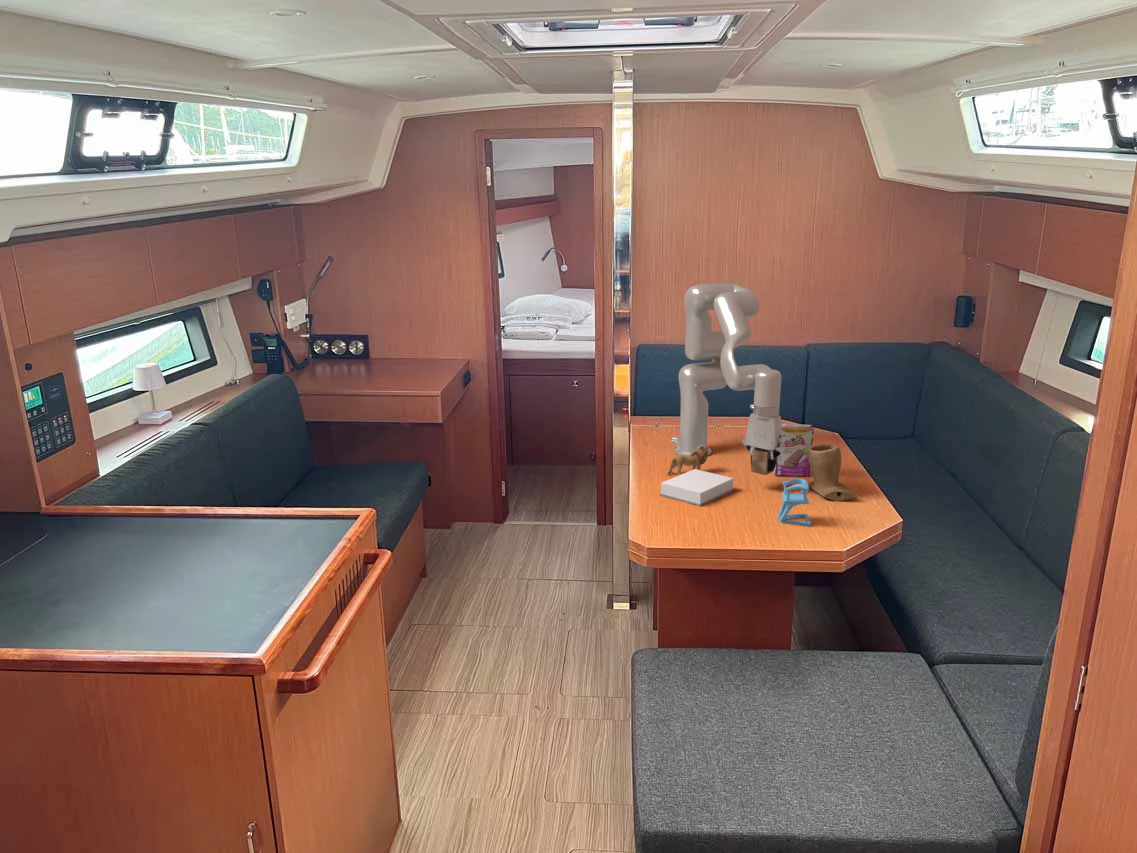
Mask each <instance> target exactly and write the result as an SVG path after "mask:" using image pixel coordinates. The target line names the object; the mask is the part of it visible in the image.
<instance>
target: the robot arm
mask: <svg viewBox="0 0 1137 853" xmlns="http://www.w3.org/2000/svg"><path fill="white" fill-rule="evenodd" d="M683 303H684V306H683V307H684V311H685V317H686V324H685V339H684V340H685V341H684V353H685V356H686V358H687V359H689V360H692V361H705V360H711V361H709V362H697V363H694V362H693V363H689V364H685V365H684V366H682V367H681V368H680V369H679V372H678V385H679V392H680V418H679V437H678V436H672V438H671V440H670V443H671V444H674V445H676V447H675V448H674V452H675V454H677V455H678V454H682V455H691V454H693V453H694V452H695V451H696V450H697V447H698V446H700V445H705V446H707V447H708V426H709V424H708V423H709V402H708V399H707V398H706V396H705V395H704V393H703V392H704V391H705V392H706V391H714V390H720V389H724V388H725V387H726V386H728V388H730V390H732V391H737V392H741V391H749V390H754V394H753V395H754V396H753V404H752V403H751V404H750V406H749V408H750V409H752V413H750V415H749V419H748V421H747V422H748V423H747V428H746V434H745V437H744V438H743V439H742V440H741V443H742V444H743V445H744V446H745V447H746V449H747V451H748V452H749V455H750V465H751V464H752V450H753V449H755V448H760V449H765V450H769V455H770V459H769V460H768V472H771V471H773V470H774V469H775V467H776V458H777V457H778V456H779V455H781V454H782V453H784V452H785V451H787V448H786V447H785V445H784V443H783V441H782V424H783V423H782V416H781V415H780V403H781V389H782V388H781V387H782V373H781V372H780V371H779V370H777V369H772V368H771V367H769V365H766V364H762V363H760V364H747V365H738V364H737V362H736V358H735V356H734V351H735V349H736V348H738V347H740V346H741V345H744V344H745V343H747V342H748V341H749V340H750V339H751V338H752V335H753V331H752V327H751V326H750V322H749V321H748V318H753V317H755V316H756V315H757V314H758V313H759V309H760V301H759V299H758V297H757V295H756V294H755V293H754V292H753V291H752V290H750V289H749V288H746V287H743V286H741V285H739V284H737V283H736V284H735V283H733V282H732V283H731V282H727V283H726V282H725V283H703V284H695V285H693V286H690V287H689V288H688V289H687V290H686V292H685V294H684V299H683ZM709 311H714V312H715V315H716V318H717V321H718V323H719V326H720V329H721V330H713V331H712V327H713V326H712V325H713V319H712V316H711V314H710V312H709ZM777 448H780V450H779V451H777ZM708 451H709V453H708V456H710V455H711V454H712V449H711V447H708ZM771 473H772V472H771Z"/></svg>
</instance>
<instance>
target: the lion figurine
mask: <svg viewBox="0 0 1137 853" xmlns="http://www.w3.org/2000/svg"><path fill="white" fill-rule="evenodd" d="M708 453H709V451H708V445H707V446H705V445H700V446H698V447H697V450H696V451H695V452H694V453H693V454H691V455H682V454H677V455H674V457H672V459H671V463H670V467H669V471H668V472H667V475H666V476H669V475H673V474H674V471H673V469H674V468H676V467H677V473H678V474H679V475H682V474H683V473H682V468H683V465H684V466H687V467H692V470H694V469H697V470H701V466H702V465H703V464H705V463H706V461H707V460H708V456H709V455H708Z"/></svg>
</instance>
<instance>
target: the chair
mask: <svg viewBox="0 0 1137 853" xmlns="http://www.w3.org/2000/svg"><path fill="white" fill-rule="evenodd" d="M781 483H782V485H783V492H781V494H780V496H781V498H782V504H781V507H780V510H779V513H778V514H777V515H778V516H777V520H778V523H779V522H782V523H781V524H787V523H790V524H789V525H794V524H796V525H795V526H801V525H802V527H803V526H804V527H809V526H810V527H812V522H811V520H810V518H809V516H808V514H807V513H793V514H789V513H790V512H791V510H792V508H794V507H796V506H799V505H809V504H810V500H809V499H808V496H807V495H808V492H809V488H810V487H809V486H810V485H809V482H808V480H805V479H802V478H790V479H789V480H786V481H782V482H781ZM793 483H795V484H793ZM789 484H792V485H791V486H789V487H787V485H789ZM793 490H800V493H799V492H797V493H793V492H792V493H790V491H793ZM797 517H801V518H805V521H800V520H793V519H798V518H797ZM787 518H792V519H787Z"/></svg>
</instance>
